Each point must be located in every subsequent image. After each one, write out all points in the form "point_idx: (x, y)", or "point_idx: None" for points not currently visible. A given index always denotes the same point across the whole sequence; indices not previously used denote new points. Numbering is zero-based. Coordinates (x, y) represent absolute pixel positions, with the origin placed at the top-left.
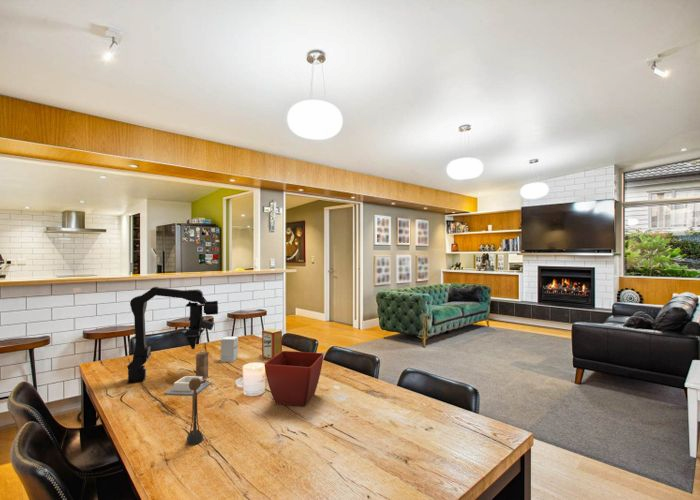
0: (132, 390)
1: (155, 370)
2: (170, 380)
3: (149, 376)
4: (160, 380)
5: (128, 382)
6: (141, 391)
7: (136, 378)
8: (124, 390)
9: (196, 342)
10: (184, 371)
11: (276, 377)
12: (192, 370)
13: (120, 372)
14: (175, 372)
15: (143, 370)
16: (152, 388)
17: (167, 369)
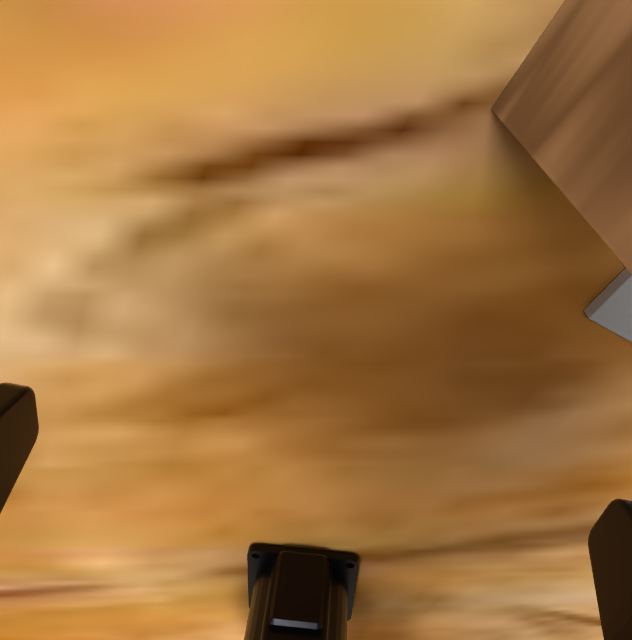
0: (524, 589)
1: (76, 493)
2: (434, 401)
3: (233, 522)
4: (386, 464)
5: (350, 614)
6: None
7: (347, 606)
8: (490, 617)
9: (2, 472)
10: (176, 288)
11: None
12: (161, 204)
13: (80, 636)
14: (185, 365)
15: (321, 632)
16: (572, 505)
17: (64, 422)
